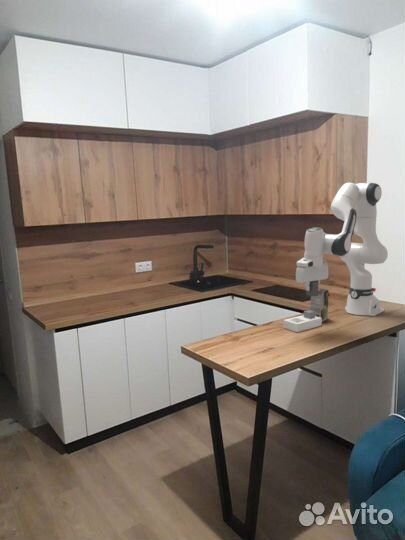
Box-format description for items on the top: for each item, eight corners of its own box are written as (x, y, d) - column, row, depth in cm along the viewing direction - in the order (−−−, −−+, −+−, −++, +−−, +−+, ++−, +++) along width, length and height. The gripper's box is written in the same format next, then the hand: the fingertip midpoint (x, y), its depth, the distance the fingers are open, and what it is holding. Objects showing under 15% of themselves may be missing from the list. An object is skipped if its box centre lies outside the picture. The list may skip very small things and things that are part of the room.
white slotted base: (307, 321, 215) (307, 308, 214) (321, 325, 208) (321, 312, 207) (283, 327, 205) (283, 314, 204) (296, 332, 198) (297, 318, 196)
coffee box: (316, 316, 223) (317, 287, 221) (327, 319, 219) (329, 289, 217) (309, 320, 216) (310, 290, 214) (320, 322, 212) (322, 292, 210)
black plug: (311, 294, 202) (311, 280, 201) (317, 295, 199) (318, 281, 198) (305, 295, 199) (306, 280, 198) (312, 296, 196) (313, 282, 195)
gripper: (321, 259, 205) (320, 286, 207) (293, 262, 193) (292, 291, 195) (332, 260, 200) (331, 288, 202) (304, 264, 188) (303, 293, 190)
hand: (312, 289), depth 199 cm, fingers closed on black plug, 4 cm apart
